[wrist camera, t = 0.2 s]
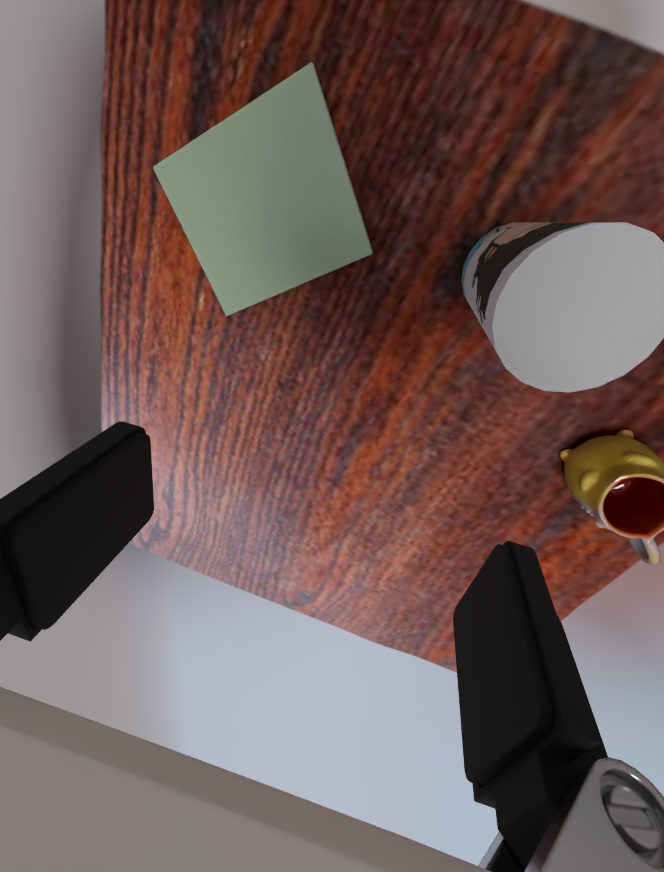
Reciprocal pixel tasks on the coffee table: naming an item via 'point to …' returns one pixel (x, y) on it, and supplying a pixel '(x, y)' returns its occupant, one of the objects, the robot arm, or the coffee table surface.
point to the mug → (620, 488)
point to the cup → (568, 300)
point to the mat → (267, 195)
